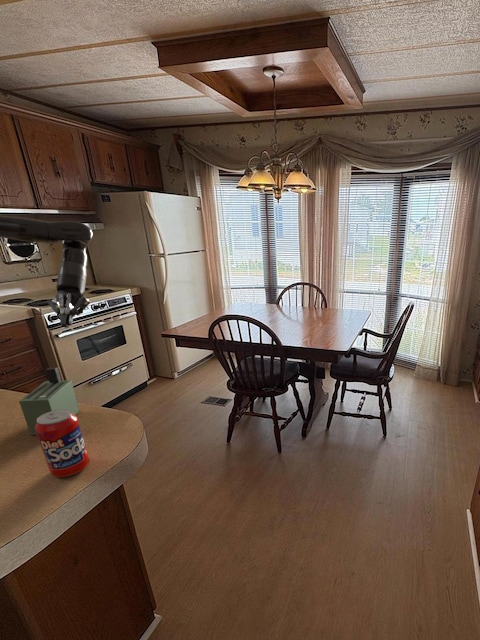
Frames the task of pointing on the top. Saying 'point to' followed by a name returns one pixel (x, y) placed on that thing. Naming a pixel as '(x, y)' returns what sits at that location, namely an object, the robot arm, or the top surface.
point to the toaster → (48, 401)
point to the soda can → (62, 442)
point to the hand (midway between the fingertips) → (65, 326)
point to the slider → (53, 375)
